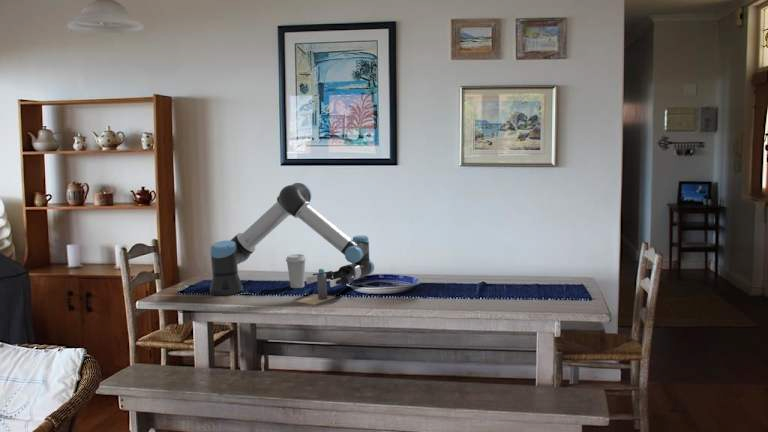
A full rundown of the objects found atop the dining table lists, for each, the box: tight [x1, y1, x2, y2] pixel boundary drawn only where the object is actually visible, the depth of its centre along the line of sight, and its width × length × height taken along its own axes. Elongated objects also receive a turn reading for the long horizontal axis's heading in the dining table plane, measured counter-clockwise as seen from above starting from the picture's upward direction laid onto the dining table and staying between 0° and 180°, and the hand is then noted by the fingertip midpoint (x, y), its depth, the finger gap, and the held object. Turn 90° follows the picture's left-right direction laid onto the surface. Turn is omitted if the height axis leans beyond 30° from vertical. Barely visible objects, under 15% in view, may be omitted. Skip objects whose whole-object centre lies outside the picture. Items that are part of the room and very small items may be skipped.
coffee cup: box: [285, 253, 307, 289], centre depth 322 cm, size 10×10×15 cm
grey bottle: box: [316, 268, 328, 300], centre depth 296 cm, size 4×4×13 cm
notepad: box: [293, 293, 336, 306], centre depth 297 cm, size 12×14×1 cm
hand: (318, 282), depth 294 cm, fingers open, 13 cm apart
